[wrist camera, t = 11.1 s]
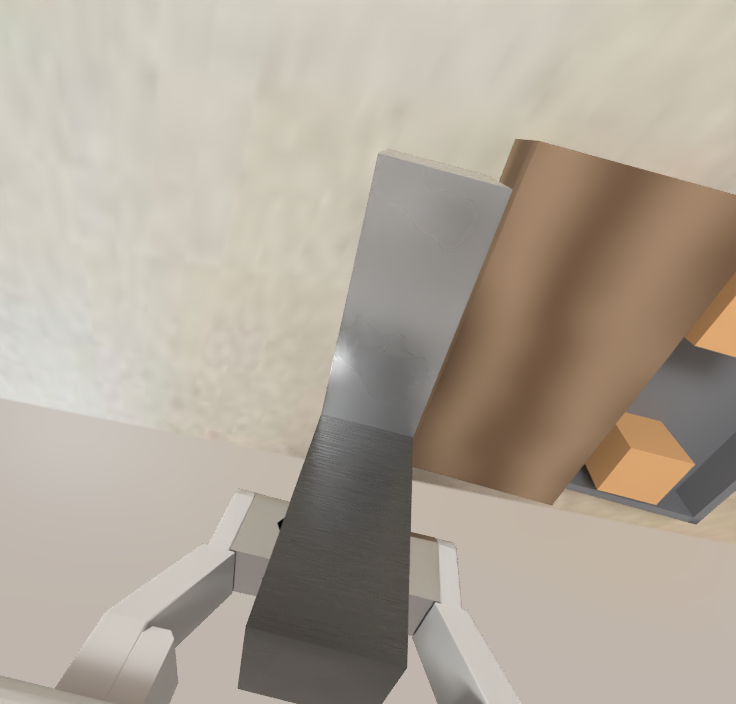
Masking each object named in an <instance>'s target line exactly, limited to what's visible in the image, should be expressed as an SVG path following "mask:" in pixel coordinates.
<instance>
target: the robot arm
mask: <svg viewBox="0 0 736 704" xmlns="http://www.w3.org/2000/svg"><path fill="white" fill-rule="evenodd" d="M289 504H290V502H288V501H284V500H281V499H277V498H273V497H269V496H266V495H262V494H258V493H255V492H251V491H247V490H243V489H238V490H237V491H236V492H235V494H234V495H233V497H232V499H231V501H230V503H229V505H228V507H227V509H226V511H225V513H224V515H223V517H222V519H221V521H220V522H219V524H218V526H217V528H216V530H215V532H214V534H213V536H212V538H211V540H210V542H209V544H208V545H207V544H201V545H200V546H198V547H197V548H195V549H194V550H192V551H191V552H190V553H188V554H187V555H185V556H184V557H183V558H181V559H180V560H178V561H177V562H175V563H174V564H173V565H171V566H170V567H169V568H167V569H166V570H164V571H163V572H161V573H160V574H159V575H157V576H156V577H154V578H153V579H152V580H150V581H149V582H147V583H146V584H144V585H143V586H141V587H140V588H139V589H137V590H136V591H134V592H133V593H132V594H130V595H129V596H127V597H126V598H124V599H123V600H122V601H120V602H119V603H117V604H116V605H114V606H113V607H112V608H110V609H109V610H107V611H106V612H105V613H104V615H103V617H102V618H101V619H100V621H99V622H98V624H97V625H96V627H95V628H94V630H93V632H92V633H91V635H90V636H89V638H88V639H87V641H86V642H85V643H84V645H83V647H82V648H81V650H80V651H79V653H78V654H77V656H76V657H75V659H74V660H73V662H72V663H71V665H70V666H69V668H68V669H67V671H66V672H65V674H64V675H63V677H62V678H61V680H60V681H59V683H58V684H57V686H56V687H55V689H53V688H49V687H45V686H41V685H37V684H33V683H29V682H25V681H21V680H17V679H12V678H9V677H5V676H1V675H0V704H169V703H170V701H171V698H172V696H173V694H174V691H175V689H176V687H177V684H178V676H177V665H176V654H175V648H176V647H177V646H178V645H179V644H180V643H181V642H182V641H183V640H184V639H185V638H186V637H187V636H188V635H189V634H190V633H191V632H192V631H193V630H194V629H195V628H196V627H197V626H199V625H200V624H201V623H202V621H204V620H205V619H206V618H207V617H208V616H209V615H210V614H211V613H212V612H213V611H214V610H215V609H216V608H217V607H218V606H219V605H220V604H221V603H223V602H224V601H225V600H226V599H227V598H228V597H229V596H230V595H231V594H232V591H236V592H240V593H245V594H249V595H254V596H257V594H258V591H259V588H260V585H261V582H262V579H263V577H264V574H265V571H266V568H267V565H268V563H269V560H270V557H271V554H272V551H273V549H274V546H275V543H276V540H277V537H278V535H279V532H280V529H281V526H282V523H283V520H284V518H285V515H286V512H287V509H288V506H289ZM408 635H412V636H413V637H412V638H413V641H414V644H415V646H416V649H417V651H418V654H419V656H420V659H421V662H422V664H423V667H424V669H425V672H426V675H427V677H428V680H429V682H430V685H431V687H432V690H433V693H434V695H435V698H436V701H437V703H438V704H522V703H521V701H520V700H519V698H518V696H517V694H516V693H515V691H514V689H513V688H512V686H511V684H510V682H509V681H508V679H507V677H506V676H505V674H504V672H503V670H502V669H501V667H500V665H499V664H498V662H497V660H496V658H495V657H494V655H493V653H492V652H491V650H490V648H489V647H488V645H487V643H486V641H485V640H484V638H483V636H482V634H481V633H480V631H479V629H478V628H477V626H476V624H475V622H474V621H473V619H472V617H471V616H470V614H469V612H468V610H465V609H462V605H461V593H460V583H459V572H458V561H457V551H456V546H455V544H454V543H452V542H448V541H443V540H439V539H435V538H434V537H430V536H425V535H421V534H417V533H412V532H411V534H410V573H409V612H408Z"/></svg>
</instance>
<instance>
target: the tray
mask: <svg viewBox="0 0 736 704" xmlns="http://www.w3.org/2000/svg"><path fill="white" fill-rule="evenodd" d="M626 413H630V414H634V415H638V416H642V417H646V418H650V419H654V420H658V421H661V422H662V423H663V424H664V426H665V427H666V428H667V429H668V431H669V432H670V433H671V434H672V436H673V437H674V438H675V440H676V441H677V442H678V443H679V445H680V446H681V447H682V448H683V450H684V451H685V452H686V453H687V455H688V456H689V457H690V458H691V460H692V461H693V462H694V463H695V465H694V466H693V467H692V468H691V469H690V470H689V472H688V473H687V474H686V475H685V476H684V477H683V478H682V479H681V480H680V481H679V482H678V483H677V484H676V485H675V486H674V487H673V488H672V489H671V490H670V491H669V492H668V493H667V494H666V495H665V496H664V497H663V498H662V499H661V500H660V501H659V502H658V504H657V505H654V504H650V503H646V502H643V501H639V500H635V499H631V498H627V497H623V496H619V495H615V494H612V493H608V492H604V491H600V490H597V488H596V486H595V484H594V482H593V480H592V478H591V475H590V473H589V471H588V469H587V467H586V465H585V464H584V465H583V466H582V468H581V469H580V470H579V471H578V473H577V474H576V475H575V477H574V478H573V479H572V480H571V482H570V483H569V484H568V485H567V487H566V488H567V489H570V490H574V491H578V492H581V493H585V494H588V495H592V496H596V497H599V498H603V499H606V500H610V501H613V502H617V503H621V504H624V505H628V506H631V507H635V508H639V509H642V510H646V511H649V512H653V513H656V514H660V515H664V516H667V517H671V518H674V519H678V520H682V521H685V522H689V523H692V524H697V523H698V522H700V521H701V520H702V519H703V518H704V517H705V516H707V515H708V514H709V513H710V512H711V511H712V510H714V509H715V508H716V507H717V506H718V505H719V504H720V503H722V502H723V501H724V500H725V499H726V498H727V497H729V496H730V495H731V494H732V493H733V492H734V491H736V357H733V356H729V355H726V354H722V353H719V352H715V351H712V350H708V349H705V348H701V347H697V346H694V345H693V344H692V343H691V342H690V341H688V340H687V339H686V338H685V337H684V338H683V339H682V340H681V342H680V343H679V344H678V346H677V347H676V348H675V349H674V351H673V352H672V353H671V354H670V356H669V357H668V358H667V360H666V361H665V362H664V363H663V365H662V366H661V367H660V368H659V370H658V371H657V372H656V373H655V375H654V376H653V377H652V379H651V380H650V381H649V382H648V384H647V385H646V386H645V387H644V389H643V390H642V391H641V393H640V394H639V395H638V396H637V398H636V399H635V400H634V401H633V403H632V404H631V405H630V407H629V408H628V409H627V410H626Z"/></svg>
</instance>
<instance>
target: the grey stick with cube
mask: <svg viewBox="0 0 736 704" xmlns="http://www.w3.org/2000/svg"><path fill="white" fill-rule="evenodd" d="M511 192H512V189H511V188H509V187H507V186H506V185H504V184H502V183H501V182H499V181H497V180H496V179H494V178H492V177H491V176H487V175H483V174H480V173H476V172H472V171H469V170H465V169H461V168H458V167H454V166H450V165H446V164H443V163H439V162H435V161H432V160H428V159H424V158H421V157H417V156H413V155H410V154H406V153H402V152H399V151H395V150H391V149H387V150H385V151H382V152H380V153H378V157H377V162H376V166H375V171H374V175H373V180H372V184H371V189H370V194H369V198H368V203H367V207H366V212H365V217H364V221H363V226H362V230H361V235H360V240H359V244H358V249H357V253H356V258H355V262H354V267H353V272H352V276H351V281H350V285H349V290H348V295H347V299H346V304H345V308H344V313H343V318H342V322H341V327H340V331H339V336H338V340H337V345H336V350H335V354H334V359H333V363H332V368H331V373H330V377H329V382H328V386H327V391H326V396H325V400H324V405H323V409H322V414H321V417H320V419H319V422H318V425H317V428H316V431H315V433H314V436H313V439H312V442H311V445H310V447H309V450H308V453H307V456H306V459H305V462H304V464H303V467H302V470H301V473H300V476H299V478H298V481H297V484H296V487H295V490H294V492H293V495H292V498H291V501H290V504H289V506H288V509H287V512H286V515H285V518H284V520H283V523H282V526H281V529H280V532H279V535H278V537H277V540H276V543H275V546H274V549H273V551H272V554H271V557H270V560H269V563H268V565H267V568H266V571H265V574H264V577H263V579H262V582H261V585H260V588H259V591H258V594H257V596H256V599H255V602H254V605H253V608H252V611H251V613H250V616H249V619H248V622H247V625H246V629H245V636H244V644H243V652H242V659H241V667H240V675H239V682H238V689H241V690H245V691H249V692H253V693H257V694H261V695H265V696H269V697H273V698H277V699H281V700H284V701H288V702H293V703H296V704H382V703H383V701H384V700H385V698H386V697H387V695H388V694H389V693H390V691H391V690H392V689H393V687H394V686H395V684H396V683H397V681H398V680H399V678H400V677H401V676H402V674H403V673H404V671H405V670H406V668H407V651H408V650H407V649H408V612H409V573H410V534H411V494H412V456H413V436H414V434H415V431H416V429H417V426H418V424H419V421H420V419H421V416H422V414H423V411H424V409H425V406H426V404H427V401H428V399H429V396H430V394H431V391H432V389H433V386H434V384H435V381H436V379H437V376H438V374H439V372H440V369H441V367H442V364H443V362H444V359H445V357H446V354H447V352H448V349H449V347H450V344H451V342H452V339H453V337H454V334H455V332H456V329H457V327H458V324H459V322H460V319H461V317H462V314H463V312H464V309H465V307H466V304H467V302H468V299H469V297H470V294H471V292H472V289H473V287H474V284H475V282H476V280H477V277H478V275H479V272H480V270H481V267H482V265H483V262H484V260H485V257H486V255H487V252H488V250H489V247H490V245H491V242H492V240H493V237H494V235H495V232H496V230H497V227H498V225H499V222H500V220H501V217H502V215H503V212H504V210H505V207H506V205H507V202H508V200H509V197H510V195H511Z"/></svg>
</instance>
